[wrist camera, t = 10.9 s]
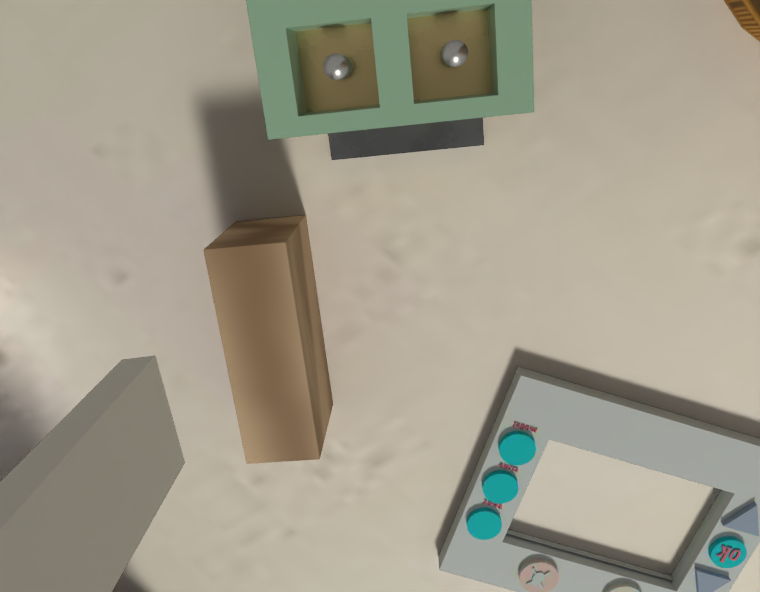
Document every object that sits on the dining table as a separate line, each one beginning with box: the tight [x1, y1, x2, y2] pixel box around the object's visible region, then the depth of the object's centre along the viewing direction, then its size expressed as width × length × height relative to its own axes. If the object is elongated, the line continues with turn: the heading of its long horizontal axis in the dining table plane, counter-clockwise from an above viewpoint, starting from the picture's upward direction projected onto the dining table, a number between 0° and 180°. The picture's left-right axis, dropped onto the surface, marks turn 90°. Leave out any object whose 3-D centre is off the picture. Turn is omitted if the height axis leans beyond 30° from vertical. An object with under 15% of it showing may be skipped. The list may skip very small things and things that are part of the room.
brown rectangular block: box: [204, 215, 333, 464], centre depth 35 cm, size 4×12×6 cm, turn 6°
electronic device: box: [439, 367, 760, 592], centre depth 41 cm, size 18×2×15 cm
